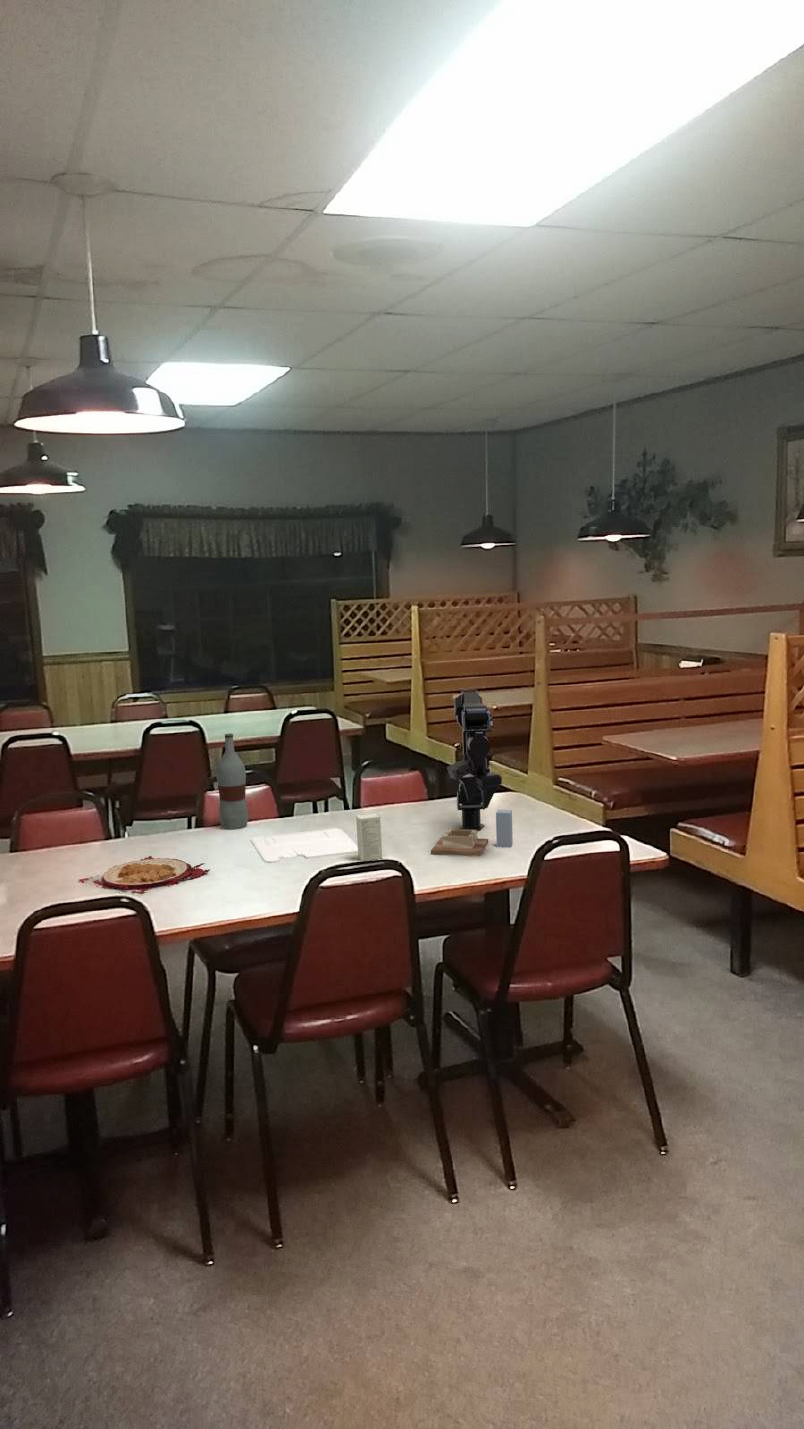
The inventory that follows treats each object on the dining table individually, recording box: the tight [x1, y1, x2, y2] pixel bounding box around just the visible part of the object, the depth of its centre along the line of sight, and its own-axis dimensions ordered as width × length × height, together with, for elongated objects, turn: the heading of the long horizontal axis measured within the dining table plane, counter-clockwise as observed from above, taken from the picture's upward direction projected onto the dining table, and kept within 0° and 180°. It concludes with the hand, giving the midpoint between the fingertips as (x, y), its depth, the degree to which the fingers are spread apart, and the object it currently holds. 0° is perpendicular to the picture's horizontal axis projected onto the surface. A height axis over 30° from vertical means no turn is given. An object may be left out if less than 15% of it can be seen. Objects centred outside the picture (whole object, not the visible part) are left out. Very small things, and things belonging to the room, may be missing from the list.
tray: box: [250, 828, 358, 864], centre depth 283 cm, size 28×28×2 cm
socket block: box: [430, 828, 490, 857], centre depth 274 cm, size 14×14×4 cm
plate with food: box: [78, 855, 211, 896], centre depth 256 cm, size 24×26×4 cm
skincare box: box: [355, 812, 383, 862], centre depth 267 cm, size 6×4×12 cm
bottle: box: [216, 733, 249, 831], centre depth 307 cm, size 9×9×30 cm
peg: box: [495, 809, 514, 848], centre depth 275 cm, size 4×4×10 cm
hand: (477, 804), depth 271 cm, fingers open, 9 cm apart
